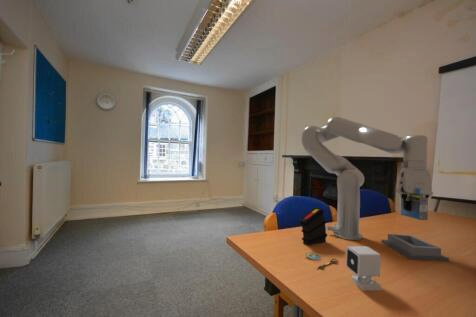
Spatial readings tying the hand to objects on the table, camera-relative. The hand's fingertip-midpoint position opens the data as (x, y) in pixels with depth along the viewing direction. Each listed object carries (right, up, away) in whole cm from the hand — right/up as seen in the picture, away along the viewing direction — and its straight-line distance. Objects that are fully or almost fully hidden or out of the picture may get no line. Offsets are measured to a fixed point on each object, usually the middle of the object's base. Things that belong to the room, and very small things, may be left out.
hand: (413, 210), depth 90 cm
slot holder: (-1, -17, 0) cm, 17 cm away
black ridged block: (-40, -15, +4) cm, 43 cm away
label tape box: (0, -3, 0) cm, 3 cm away
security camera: (-36, -15, -27) cm, 47 cm away
